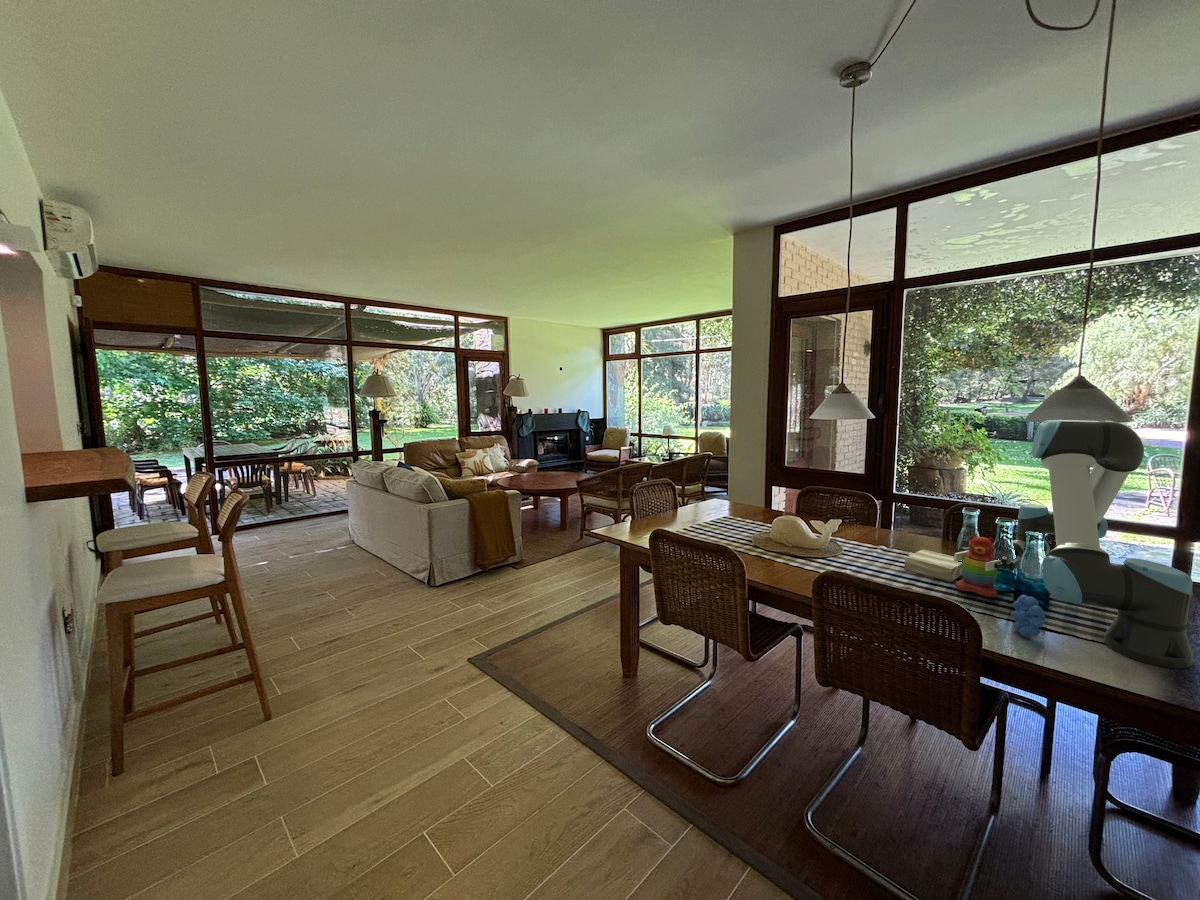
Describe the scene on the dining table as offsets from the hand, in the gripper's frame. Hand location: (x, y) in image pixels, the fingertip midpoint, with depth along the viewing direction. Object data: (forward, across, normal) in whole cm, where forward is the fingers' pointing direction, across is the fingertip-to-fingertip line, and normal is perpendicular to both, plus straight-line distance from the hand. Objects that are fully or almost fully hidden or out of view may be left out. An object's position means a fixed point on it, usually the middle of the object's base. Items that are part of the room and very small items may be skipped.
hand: (970, 561), depth 159 cm
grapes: (+14, -24, -12) cm, 30 cm away
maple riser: (-12, +18, -12) cm, 24 cm away
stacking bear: (-5, 0, -10) cm, 11 cm away
